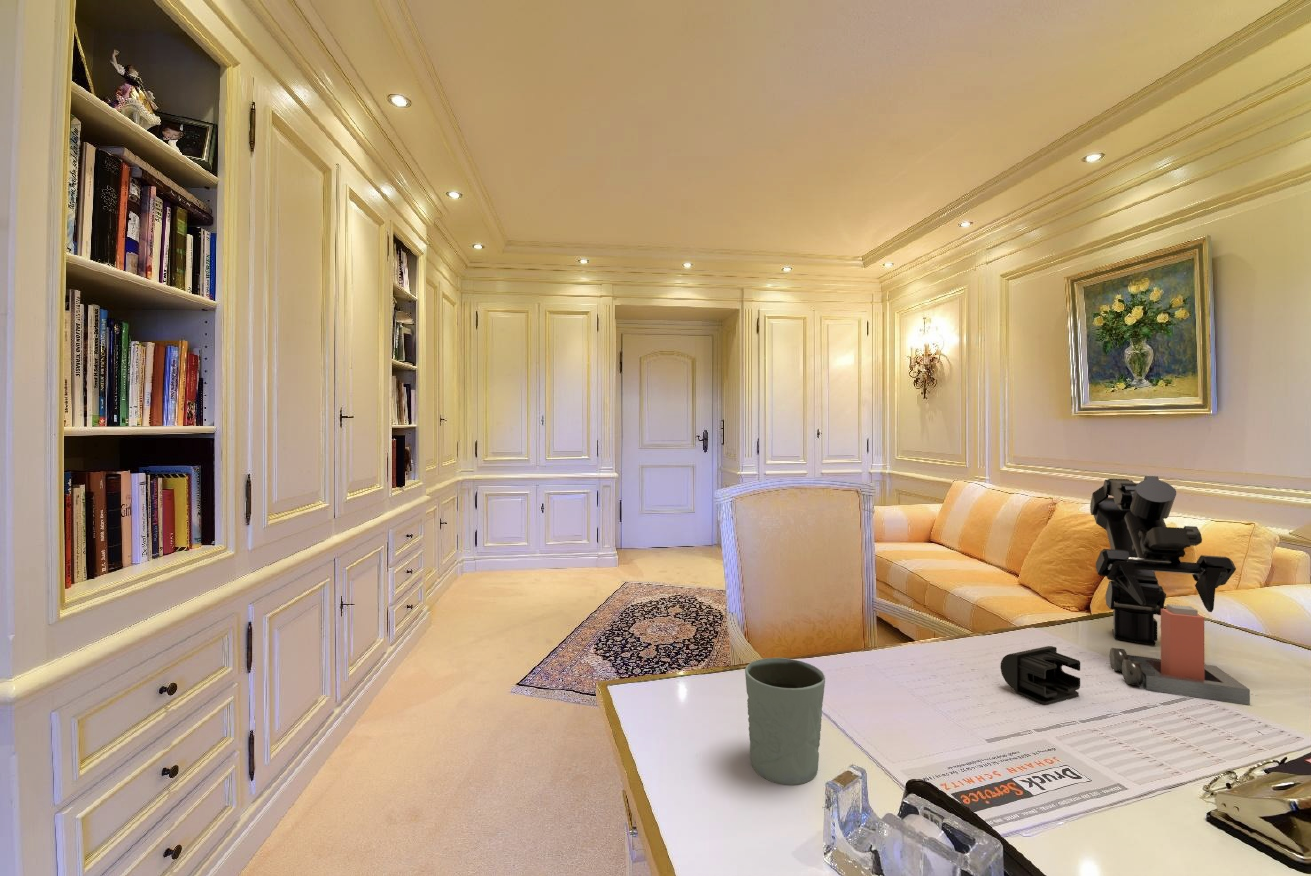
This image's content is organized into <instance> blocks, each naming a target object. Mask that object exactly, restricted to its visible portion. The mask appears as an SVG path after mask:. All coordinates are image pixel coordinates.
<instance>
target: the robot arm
mask: <svg viewBox="0 0 1311 876" xmlns="http://www.w3.org/2000/svg"><path fill="white" fill-rule="evenodd" d="M1091 495H1092V496H1091V500H1090V504H1089V509H1090V510H1089V512H1090V515H1091V516H1093V519H1094V521H1095V523H1096V525H1098V526H1099V527H1101V528H1102V529H1103V530H1105V531H1106V534H1107V538H1108V541H1109V542H1108V543H1109V547H1110V548H1103V549H1102V550H1101V551H1100V552H1099V555H1098V557H1097V559H1096V561H1095V569H1096V573H1097V575H1098V576H1100V577H1106V578H1107V580H1109V581H1108V584H1107V588H1106V592H1105V605H1106V606H1107V607H1108V609H1109V610H1113V611H1112V612H1113V615H1112V616H1113V617H1112V618H1113V620H1112V621H1113V622H1112V623H1113V625H1112V627H1113V628H1112V629H1111V632H1112V635H1113V637H1114V639H1115V640H1117V641H1126V642H1131V643H1135V644H1137V643H1138V644H1142V645H1143V644H1144V645H1148V646H1149V645H1150V646H1156V642H1157V641H1158V621H1157V619H1156V618H1155V617H1154V615H1157V616H1161V609H1165V608H1164V607H1165V602H1166V598H1167V593H1166V592H1165V591H1164V589H1163V586H1162V585H1160V584H1159V581H1158V578H1157V576H1156V573H1155V572H1158V573H1172V574H1173V573H1174V574H1187V575H1192V578H1193V580H1194V581H1195V584H1194V587H1195V589H1196V591H1197V593H1198V595H1199V597H1200V600H1201V602H1202V605H1203V606H1204V608H1205V609H1206V610H1207V612H1208V613H1212V612H1213V611H1214V609H1215V608H1214V607H1215V597H1216V589H1218V588H1219V587H1220V586H1224V585H1226V584H1227V582H1228V581H1229V579H1230V578H1231V577H1232V575H1233V574H1234V573H1235V572H1236V571H1237V567H1236V566H1235V563H1234V561H1233V560H1232V559H1231V558H1229V557H1227V556H1220V555H1219V556H1217V555H1206V554H1205V555H1203V554H1201V555H1199V557H1198V559H1197V560H1196V562H1191V561H1189V562H1188V561H1181V559H1180V558H1184V557H1185V555H1186V551H1185V549H1187V548H1190V547H1192V546H1193V547H1197V546H1198V545H1200V544H1202V543H1203V538H1202V534H1201V531H1200V529H1199V528H1198V526H1193V525H1184V526H1183V527H1170V526H1169V527H1168V526H1167V525H1166V522H1165V520H1166V519H1168V518H1169V516H1170V513H1171V510H1172V507H1173V505H1174V501H1175V500H1176V496H1177V489H1176V488H1175V487H1173V486H1172V485H1171V484H1169V483H1168V482H1166V481H1163V480H1160V478H1159V476H1158V475H1157V476H1156V475H1154V476H1153V475H1144V477H1143V480H1142V481H1140V482H1134V481H1133V480H1131V479H1128V478H1107V479H1104V482H1103V485H1102V486H1100V487H1099V488H1098V489H1096V490H1095V491H1094V492H1092V494H1091ZM1109 496H1111V497H1109Z"/></svg>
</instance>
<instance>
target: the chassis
mask: <svg viewBox="0 0 1311 876" xmlns="http://www.w3.org/2000/svg"><path fill="white" fill-rule="evenodd" d="M1109 663H1110V666H1111V668H1112V670H1113V669H1114V670H1115V672H1122V677H1123V678H1122V679H1123V680H1124V683H1126V685H1133V686H1141V687H1142V688H1143V689H1145V690H1146V691H1150V692H1156V691H1158V693H1163V692H1164V694H1170V693H1171V694H1172V695H1179V696H1184V697H1185V696H1186V697H1190V698H1192V697H1193V698H1199V699H1207V700H1213V701H1218V702H1226V703H1232V704H1241V705H1246V706H1250V705H1251V689H1250V688H1248V687H1247V686H1245V685H1244V684H1243V683H1241V682H1240V681H1238V680H1237V679H1235V678H1234V677H1232V676H1231V675H1230V674H1228V673H1226V671H1224V670H1222V669H1221V668H1220V667H1218V666H1216V665H1211V664H1210V665H1209V664H1204V670H1205V680H1199V679H1191V678H1184V677H1177V676H1169V675H1162V674H1161V658H1157V657H1156V658H1155V657H1147V656H1138V655H1131V654H1128V653H1127V651H1126V650H1125V649H1124V648H1118V647H1111V648H1110V650H1109ZM1114 670H1113V671H1114Z"/></svg>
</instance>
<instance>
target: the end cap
mask: <svg viewBox="0 0 1311 876" xmlns="http://www.w3.org/2000/svg"><path fill="white" fill-rule="evenodd" d="M999 666H1000V672H1001V676H1002V678H1003V679H1004V681H1005V683H1006V684H1007V686H1009V687H1010V688H1011V689H1012V690H1013V691H1014V692H1015V693H1016V694H1017V695H1019V696H1021V697H1023V698H1025V699H1028V700H1030V701H1032V702H1034V703H1037V704H1039V705H1042V706H1048V705H1052V704H1056V703H1060V702H1063V701H1067V700H1066V699H1068V700H1070V699H1074V698H1078V697H1080V695H1079V691H1078V690H1079V689H1080V687H1081V677H1079V676H1075V675H1072V674H1070V673H1067V672H1065V671H1064V670H1063V668H1062V667H1063V666H1065V667H1067V668H1070V669H1073V670H1075V671H1078V672H1079V671H1081V661H1080V660H1079V659H1076V658H1073V657H1071V656H1067V655H1064V654H1062V653H1058V652H1057V647H1056V646H1053V645H1051V646H1050V645H1046V646H1043V647H1037V648H1033V649H1032V648H1031V649H1026V650H1022V651H1018V652H1014V653H1009V654H1006V655H1005V656H1004V657H1002V659H1001V662H1000V665H999Z"/></svg>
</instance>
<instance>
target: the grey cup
mask: <svg viewBox="0 0 1311 876" xmlns="http://www.w3.org/2000/svg"><path fill="white" fill-rule="evenodd" d="M744 672H745V673H744V675H745V676H744V677H745V688H746V694H747V715H748V719H747V720H748V725H749V726H748V732H749V733H748V734H749V735H748V736H749V755H750V756H749V757H750V758H749V759H750V763H751V766H752V768H753V770H754V771H755V773H757V774H758V776H760V777H761V778H764V779H766V780H768V781H770V782H773V783H775V784H780V785H788V786H795V785H802V784H803V785H804V784H806V783H808V782H810V781H812V780H813V779H814V778H815V777H816V776H817V774H818V771H819V762H820V761H819V760H820V753H819V749H820V746H821V743H820V742H821V731H822V717H823V706H824V705H823V703H824V693H825V686H826V675H825V673H824V672H823V671H822V670H821V669H820V668H818V667H816V666H815V665H812V664H811V663H808V662H805V661H803V660H799V659H798V660H797V659H793V658H786V657H768V658H766V657H765V658H760V659H756V660H753V661H751V662H749V663H748V664H747V665H746V666H745V669H744Z"/></svg>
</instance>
